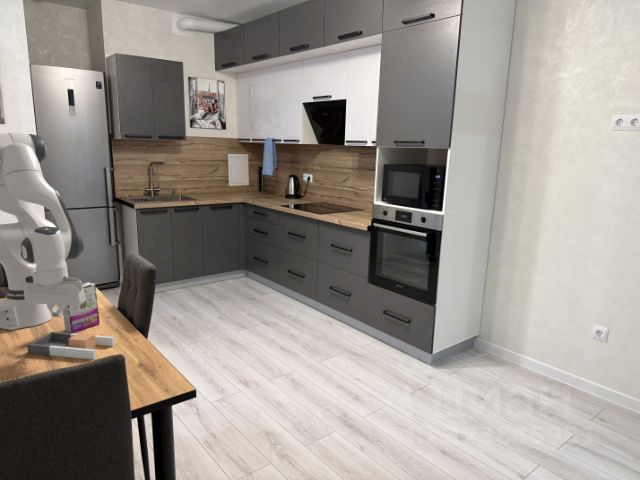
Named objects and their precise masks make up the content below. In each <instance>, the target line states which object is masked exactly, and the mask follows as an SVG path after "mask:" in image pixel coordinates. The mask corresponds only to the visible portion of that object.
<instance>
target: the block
mask: <svg viewBox="0 0 640 480" xmlns="http://www.w3.org/2000/svg"><path fill="white" fill-rule="evenodd" d="M75 334H76V335H75V336H73V337H71V338H70V339H69V344H68V347H72V348H83V349H94V350H96V348H97V345H96V342H95V335H96V334H95V333H83V332H77V333H75Z"/></svg>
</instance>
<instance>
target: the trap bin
mask: <svg viewBox="0 0 640 480" xmlns="http://www.w3.org/2000/svg"><path fill="white" fill-rule="evenodd" d="M70 334H72V333H69V332H60V331H50V332H49V333H46V334H45V335H43V336H41V337H39V338H37V339H36V340H34V341H32V342H30V343H29V344H27V345H26V346H27V351H28V352H27V353H28V354H31V355H43V356H51V355H50V352H49V347H50V346H61V347H67V346H69V339H70V338H71V336H70Z"/></svg>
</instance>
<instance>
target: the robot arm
mask: <svg viewBox="0 0 640 480" xmlns="http://www.w3.org/2000/svg"><path fill="white" fill-rule="evenodd" d="M46 156H47V145H46V143H45V140H44V139H43V138H42V137H41V136H40V135H36V134H32V133H29V134H25V133H15V132H14V133H13V132H7V133H0V211H1V212H3V213H6V214H9V215H12V216H14V217H15V218H16V219H17V222H13V223H11V222H10V223H2V224H0V264H1V265H2V267H3V268H4V271H5V275H6V279H7V284H8V287H7V288H5V289H3V290H2V293H3V294H5V297H4V298H3V299H2V300H1V301H0V329H4V330H9V331H14V330H19V329H22V328H30V327H34V326H38V325H41V324H44V323H46V322H48V321H50V320H51V319H52V318H61V317H63V310H64V308H65V305H73V306H78V305H81V304H83V303H84V302H85V301H86V297H85V292H84V289H83V285H82V284H83V281H82V280H81V279H80V278H78V277H75V276H73V277H71V276H69V273H68V264H67V262H66V261H68V260H76V259H78V257H80V256H81V255H82V253H83V252H84V248H85V247H84V242H83V239H82V236H81V235H80V233H79V231H78V230H77V228H76V226H75V224H74V222H73V220H72V218H71V216H70V214H69V211H68V208H67V207H66V204H65V202H64V200H63V198H62V196H61V194H60V193H59V191H58V190H57V189H56V188H54V187H52V186H50V184H49V183H48V182H47V181H46V179H45V177H44V174H43V172H42V168H41V164H40V163H42V162H43V161H44V160H45V159H46V158H47V157H46ZM34 205H39V206H42V207H43V208H47V210H49V211H50V212H51V213H52V215H53V218H54V219H55V222H56V224H57V226H56V225H55V224H54V223H53V222H51V221H49V220H48V219H46V218H45V217H43V216H42V215H41V214H40V213H39V212H38V211H37V209H36V208H35V206H34ZM56 307H57V308H56Z"/></svg>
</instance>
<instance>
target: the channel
mask: <svg viewBox="0 0 640 480" xmlns="http://www.w3.org/2000/svg"><path fill="white" fill-rule="evenodd" d="M76 334H77V333H72V334H70V336H71V337H73V336H75V335H76ZM95 342H96V346H105V347H115V344H116V343H115V337H114V336H105V335H96V334H95ZM49 352H50V355H49V356H52V357H61V358H62V357H64V358H73V359H74V358H75V359H82V360H83V359H84V360H95V359H97V353H96V349H83V348H72V347H69V346H65V347H61V346H50V347H49Z"/></svg>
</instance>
